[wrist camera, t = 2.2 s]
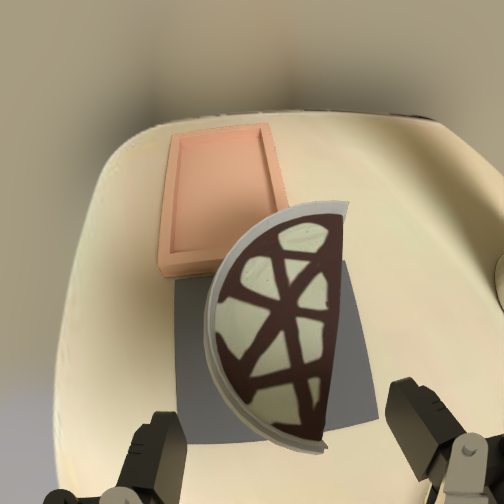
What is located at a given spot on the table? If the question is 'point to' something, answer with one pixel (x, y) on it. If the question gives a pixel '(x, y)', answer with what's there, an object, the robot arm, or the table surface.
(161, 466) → the robot arm
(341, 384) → the mat
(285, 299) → the food container
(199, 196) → the dish
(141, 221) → the table surface
